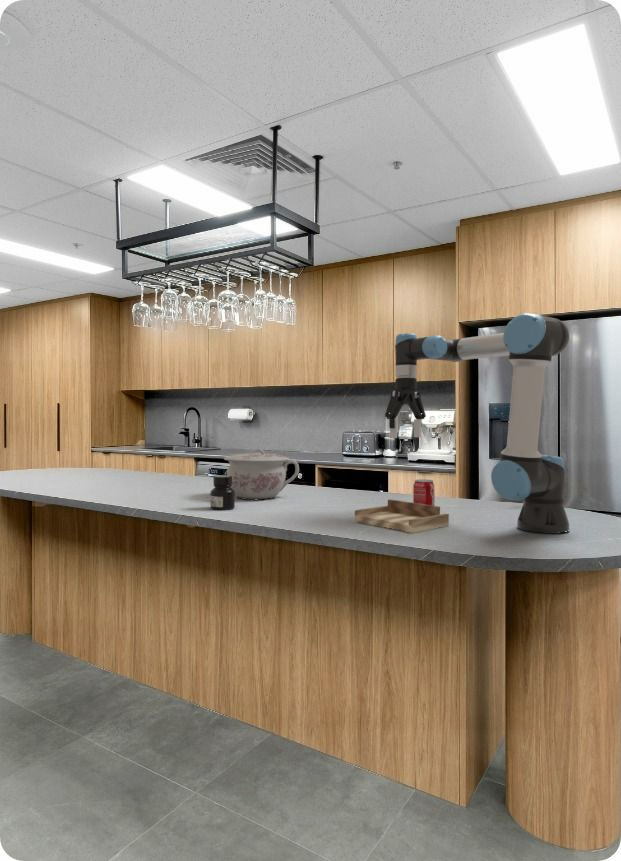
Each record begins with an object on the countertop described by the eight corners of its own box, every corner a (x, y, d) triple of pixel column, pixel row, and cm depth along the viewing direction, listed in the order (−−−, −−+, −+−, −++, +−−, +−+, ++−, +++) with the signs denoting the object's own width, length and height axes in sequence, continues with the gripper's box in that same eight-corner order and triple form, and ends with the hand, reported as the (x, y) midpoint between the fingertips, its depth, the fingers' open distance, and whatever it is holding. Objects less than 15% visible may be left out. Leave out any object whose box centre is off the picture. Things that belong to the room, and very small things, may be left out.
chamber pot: (209, 498, 246) (209, 448, 246) (252, 491, 269) (253, 445, 268) (262, 504, 230) (262, 451, 230) (303, 497, 253) (303, 448, 252)
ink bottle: (206, 507, 223) (206, 475, 222) (228, 505, 227) (229, 474, 227) (216, 511, 214) (216, 478, 214) (238, 509, 218) (238, 477, 218)
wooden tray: (448, 525, 190) (448, 506, 189) (412, 533, 178) (413, 512, 177) (390, 515, 208) (391, 498, 207) (354, 521, 196) (355, 502, 195)
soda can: (434, 520, 200) (435, 481, 199) (412, 519, 201) (413, 481, 201) (434, 516, 207) (434, 479, 206) (413, 516, 208) (413, 478, 208)
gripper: (418, 379, 223) (418, 436, 223) (374, 376, 206) (374, 438, 206) (435, 378, 217) (435, 437, 218) (391, 375, 200) (391, 438, 201)
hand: (405, 437), depth 212 cm, fingers open, 13 cm apart
